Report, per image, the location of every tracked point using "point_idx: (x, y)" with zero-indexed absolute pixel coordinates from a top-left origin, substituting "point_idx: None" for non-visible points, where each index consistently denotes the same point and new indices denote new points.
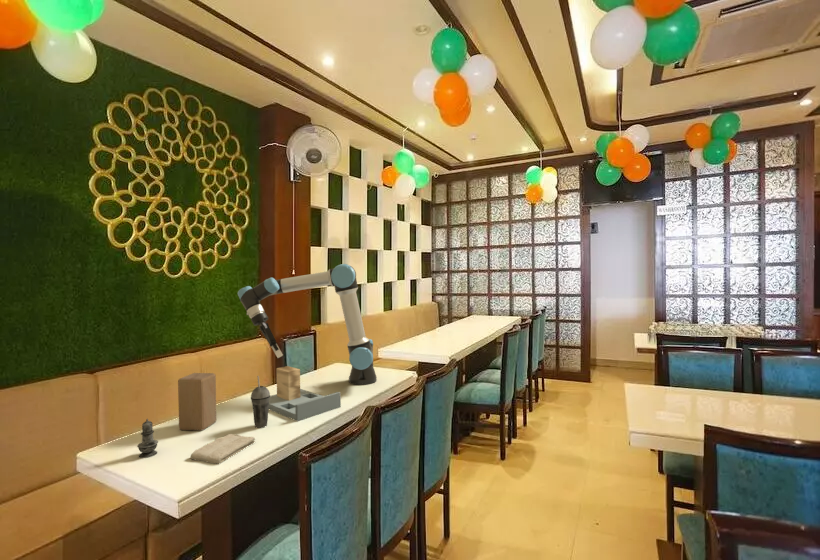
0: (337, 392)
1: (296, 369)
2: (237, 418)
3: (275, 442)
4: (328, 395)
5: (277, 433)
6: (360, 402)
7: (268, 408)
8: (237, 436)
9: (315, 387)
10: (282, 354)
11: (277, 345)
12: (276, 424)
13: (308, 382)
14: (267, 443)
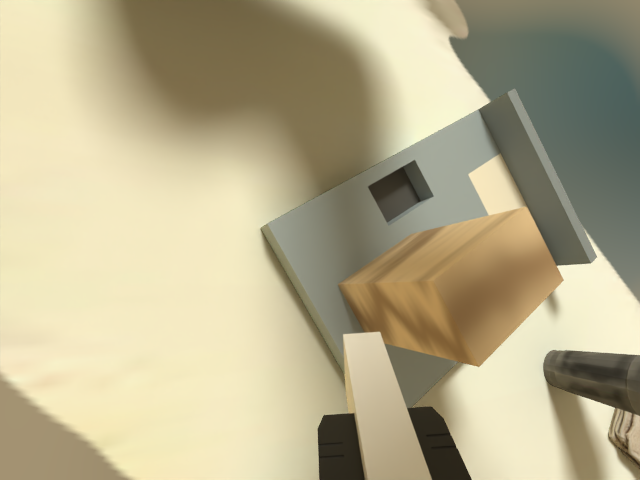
0: (512, 97)
1: (527, 227)
2: (493, 466)
3: (630, 318)
4: (534, 138)
5: (596, 316)
6: (445, 40)
7: (610, 353)
8: (637, 417)
9: (175, 129)
10: (380, 338)
11: (422, 453)
12: (552, 322)
13: (16, 140)
14: (632, 336)
